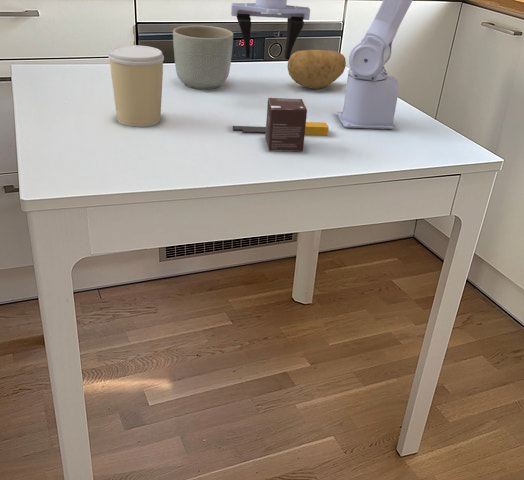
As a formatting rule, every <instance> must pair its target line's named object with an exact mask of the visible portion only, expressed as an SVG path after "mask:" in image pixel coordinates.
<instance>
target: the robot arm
mask: <svg viewBox="0 0 524 480" xmlns="http://www.w3.org/2000/svg"><path fill="white" fill-rule="evenodd" d="M413 1H414V0H382V1H381V3H380V6H379V8H378V11H377V12H376V14H375V16H374V19H373V20H372V22H371V24H370V25H369V27H368V29H367V30H366V32H365V34H364V37H363V38H361V40H360V41H359V42H358V43H357V44H356V45H354V47H352V49H351V51H350V53H349V56H348V64H349V69H348V73H347V78H346V79H347V81H346V87H345V95H344V102H343V108H342V111H337V112H336V116H337V117H338V119H339V120H340V122H341V124H342V125H343V127H344V128H348V129H349V128H352V129H377V130H379V129H382V130H393V129H394V125H393V124H394V119H395V113H396V108H397V103H398V97H399V81H398V78H397V77H396V76H390V75H389V73H388V72H387V70H386V67H385V66H384V65H386V64H387V63H388V61H389V60H390V59H391V56H392V46H393V42H394V39H395V38H396V35H397V33H398V30H399V28H400V26H401V24H402V22H403V21H404V18H405V16H406V14H407V12H408V10H409V8H410V7H411V5H412V3H413ZM287 2H288V0H255V2H231V4H230V16H231V17H236V20H237V23H238V25H239V28H240V31H241V35H242V40H243V45H244V56H245V58H246V59H250V57H251V31H252V18H251V17H257V18H259V17H261V18H274V19H275V18H276V19H286V21H287V23H286V40H285V46H284V47H285V48H284V59H285V60H286V61H288V60H289V59H290V57H291V55H292V51H293V48H294V45H295V43H296V41H297V38H298V36H299V34H300V33H301V31H302V30H303V28H304V25H305V21H309V20H310V16H311V8H310V7H309V6H298V5H289V4H288V3H287Z"/></svg>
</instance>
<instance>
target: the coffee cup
mask: <svg viewBox="0 0 524 480" xmlns="http://www.w3.org/2000/svg"><path fill="white" fill-rule="evenodd" d="M108 59H109V64H110V74H111V82H112V91H113V98H114V106H115V114H116V120H117V122H118V123H119V124H121V125H124V126H129V127H138V128H142V127H143V128H145V127H150V126H154V125H157V124H159V122H160V121H161V115H162V114H161V113H162V97H163V95H162V94H163V74H164V60H165V56H164V54H163V51H162V50H161V49H159V48H156V47H153V46H148V45H137V44H130V45H129V44H128V45H119V46H115V47H112V48H111V49H110V50H109V53H108Z"/></svg>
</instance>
